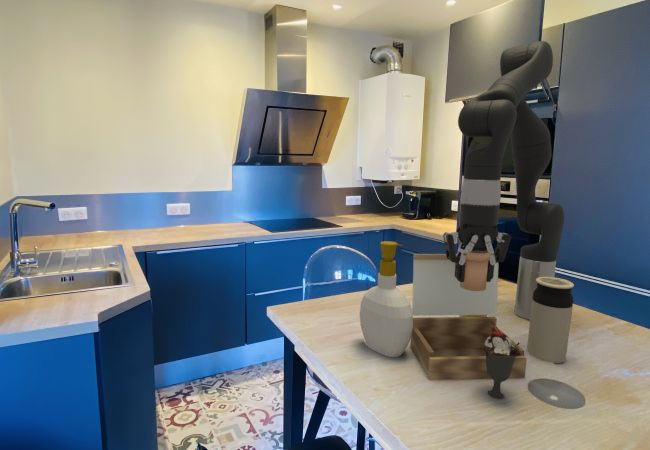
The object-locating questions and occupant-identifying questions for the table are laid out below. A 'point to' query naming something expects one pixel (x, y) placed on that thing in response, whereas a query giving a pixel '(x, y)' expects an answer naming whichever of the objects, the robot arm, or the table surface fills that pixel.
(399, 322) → the soap bottle
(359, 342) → the table surface
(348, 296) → the table surface
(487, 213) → the robot arm
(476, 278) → the clay pot
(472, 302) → the frame lid
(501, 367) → the sundae
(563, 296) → the travel mug
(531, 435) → the table surface
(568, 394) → the slate saucer
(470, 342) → the box
